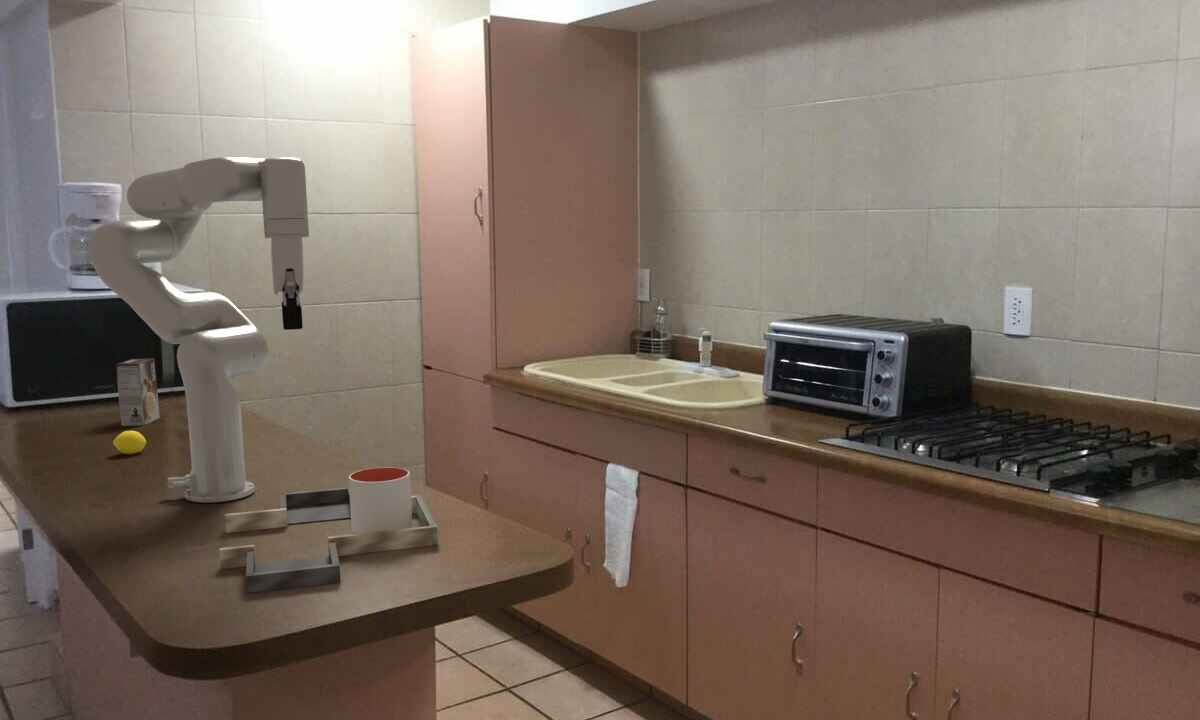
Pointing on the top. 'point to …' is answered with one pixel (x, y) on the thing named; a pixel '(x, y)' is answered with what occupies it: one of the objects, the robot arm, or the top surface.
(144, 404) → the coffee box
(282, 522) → the box
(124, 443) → the lemon
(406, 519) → the cup
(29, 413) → the top surface
